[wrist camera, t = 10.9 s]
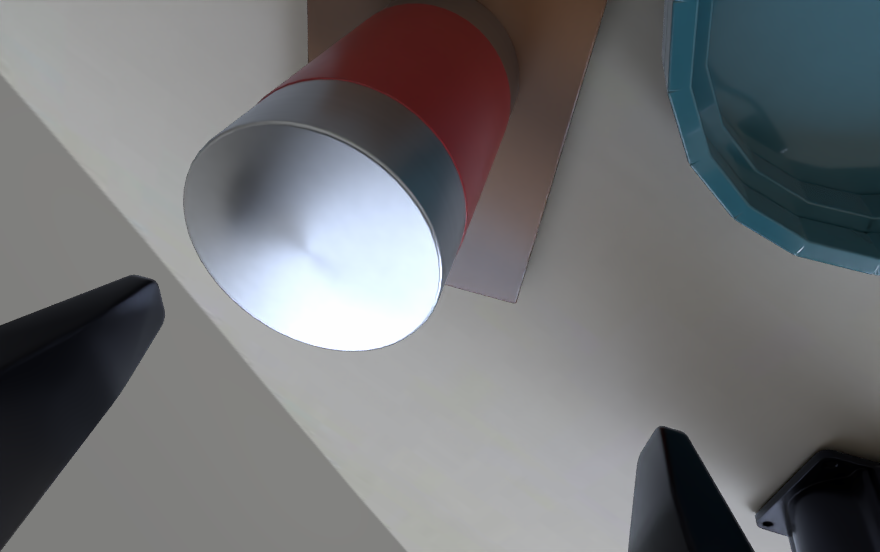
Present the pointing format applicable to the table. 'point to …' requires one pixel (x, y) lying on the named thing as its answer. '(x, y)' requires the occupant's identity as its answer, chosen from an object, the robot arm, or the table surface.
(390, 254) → the can
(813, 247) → the dish
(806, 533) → the robot arm
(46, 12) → the table surface
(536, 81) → the board
